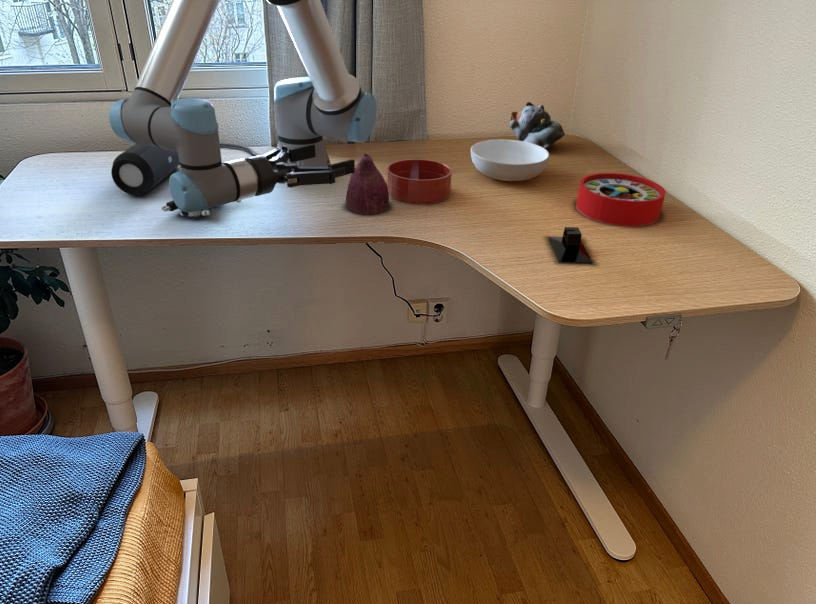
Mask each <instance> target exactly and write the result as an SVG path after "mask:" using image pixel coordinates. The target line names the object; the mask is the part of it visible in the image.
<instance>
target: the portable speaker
mask: <svg viewBox="0 0 816 604" xmlns="http://www.w3.org/2000/svg"><path fill="white" fill-rule="evenodd" d="M178 167H180V162H179V156H178V152H176V151H171V150H167V149H162V148H158V147H153V146H148V145H143V144H141V145H140V144H136V143H134V144H133V145H131V146H130V147H129V148H127V149H126V150H124V151H123V152H121V153H120V154H118V155H117V156H116V157H115V158H114V160H113V162H112V165H111V172H110V173H111V178H112V181H113V183H114V184H115V185H116V186H117V188H118V189H119V190H120V191H122V192H124V193H126V194H128V195H144V194H147V193H148V192H149V191H151V190H152V189H153V188H154V187H155V186H156V185H158V184H159V183H160V182H161V181H162V180H164V179H165V178H166V177H167V176H168V175H169V174H170V173H172V172H173V171H174V170H175V169H177V168H178Z"/></svg>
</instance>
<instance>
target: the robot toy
mask: <svg viewBox="0 0 816 604" xmlns="http://www.w3.org/2000/svg"><path fill="white" fill-rule="evenodd" d="M160 209H161V211H163V212H174V211H176V210H178V211H179V215H180V216H182V217H183V216H186V217H187V216H188V217H189V218H190V217H200V215H202V216H205V217H206V216H210V215H211V208H209V209H207V210H200V211H194V212H184V211H182V210H181V209H179V208H178V207H177V205H176V204H175V202H174V201H173V199H172V200H170V201H168V202H165V205H163V206H161V208H160Z"/></svg>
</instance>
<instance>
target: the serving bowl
mask: <svg viewBox="0 0 816 604" xmlns="http://www.w3.org/2000/svg"><path fill="white" fill-rule="evenodd" d="M470 156H471V162H472V164H473V165H474V167H475V169H476V170H477V171H478V172H480V173H481V174H482V175H484V176H486V177H489V178H491V179H493V180H494V179H495V180H498V181H503V182H519V181H520V182H521V181H522V182H523V181H526V180H531V179H534V178H535V177H537V176H539V175H540V174H541V173H542V172H543V171H544V170H545V168H546V167H547V164H548V161H549V159H550V152H549V151H548V150H547V148H546V149H544V148H542V147H540V146H538V145H535V144H532V143H528V142H523V141H520V140H516V139H503V138H501V139H500V138H499V139H487V140H481V141H478V142H476V143H474V144H473V145H472V146H471V147H470Z"/></svg>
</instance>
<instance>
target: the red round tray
mask: <svg viewBox="0 0 816 604" xmlns="http://www.w3.org/2000/svg"><path fill="white" fill-rule="evenodd" d="M385 175H386V178H385V179H386V180H385V182H386V184H387V187H388V194H389V197H391V198H392V199H394V200H396V201H399V202H403V203H406V204H415V205H416V204H417V205H427V204H435V203H439V202H443V201H444V200H446V199H447V198H449V196H450V195H451V191H452V178H453V170H452V168H451V166H449V165H447V164H446V163H443V162H440V161H437V160H431V159H424V158H423V159H422V158H409V159H407V158H406V159H401V160H397V161H393V162H391V163H389V164H388V165H387V167H386V174H385Z"/></svg>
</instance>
